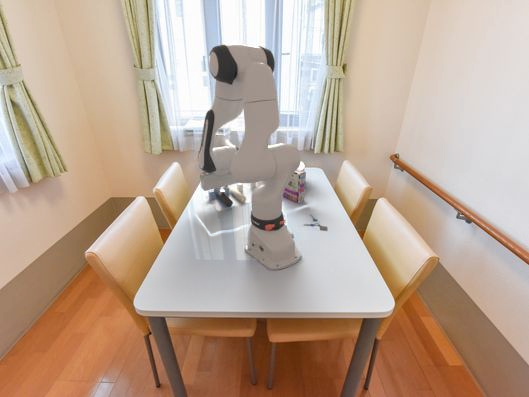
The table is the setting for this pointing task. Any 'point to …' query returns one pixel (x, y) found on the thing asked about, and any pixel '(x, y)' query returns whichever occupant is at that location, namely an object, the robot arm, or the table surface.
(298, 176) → the candy bar box
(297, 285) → the table surface
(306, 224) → the key chain
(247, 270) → the table surface
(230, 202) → the dark gray rod
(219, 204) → the rod display rack
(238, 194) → the rod
